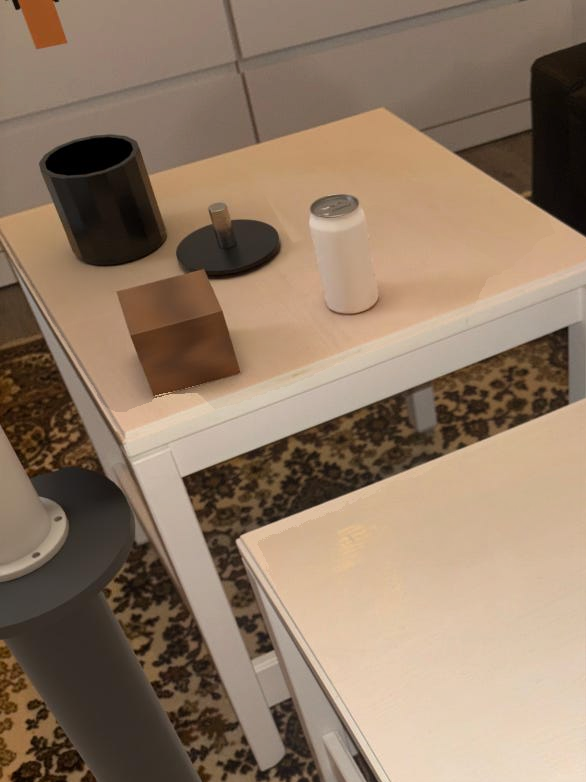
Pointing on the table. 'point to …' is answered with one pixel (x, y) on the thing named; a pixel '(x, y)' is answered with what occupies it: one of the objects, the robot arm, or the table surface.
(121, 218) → the trash tin
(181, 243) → the tin lid
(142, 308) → the riser
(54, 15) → the block
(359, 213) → the can
